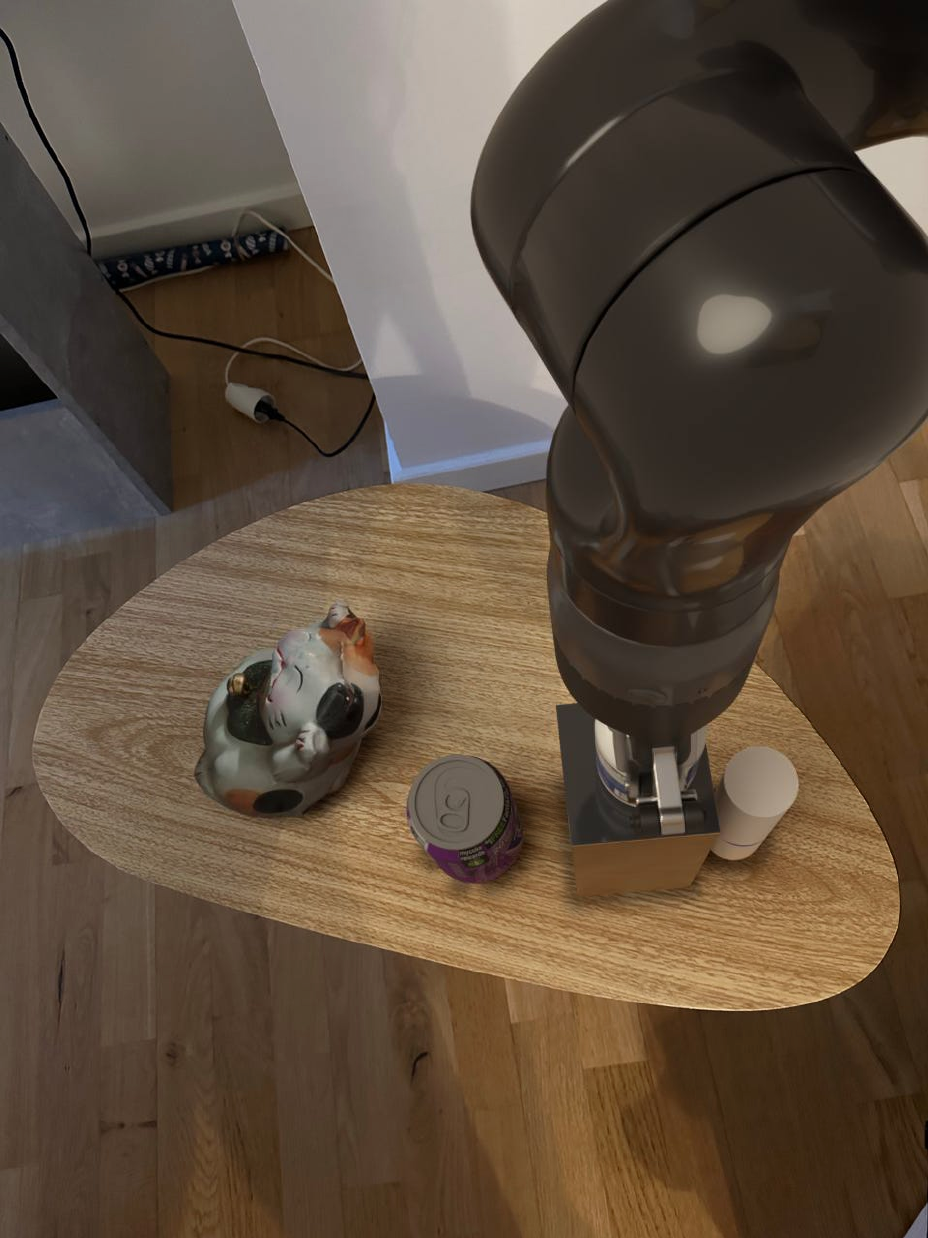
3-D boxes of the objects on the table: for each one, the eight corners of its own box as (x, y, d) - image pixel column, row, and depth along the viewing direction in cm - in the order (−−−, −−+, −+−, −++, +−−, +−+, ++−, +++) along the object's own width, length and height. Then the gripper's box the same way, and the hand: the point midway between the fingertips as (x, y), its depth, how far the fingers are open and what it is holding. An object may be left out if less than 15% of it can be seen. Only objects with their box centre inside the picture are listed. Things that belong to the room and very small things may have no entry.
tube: (728, 788, 76) (756, 731, 62) (774, 829, 75) (813, 780, 61) (689, 830, 75) (708, 782, 62) (735, 872, 74) (766, 832, 60)
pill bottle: (657, 695, 58) (666, 632, 49) (716, 775, 56) (737, 723, 47) (576, 748, 57) (571, 693, 48) (633, 830, 55) (638, 788, 46)
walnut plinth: (673, 777, 77) (696, 692, 59) (690, 887, 74) (719, 834, 56) (566, 787, 78) (555, 707, 59) (577, 897, 75) (570, 847, 56)
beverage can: (515, 892, 75) (500, 865, 64) (420, 876, 76) (390, 847, 65) (531, 797, 78) (519, 755, 67) (439, 782, 79) (412, 739, 68)
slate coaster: (696, 692, 59) (697, 690, 58) (719, 834, 56) (720, 832, 55) (555, 707, 59) (555, 704, 59) (570, 847, 56) (570, 846, 56)
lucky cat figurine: (233, 643, 85) (265, 543, 75) (370, 691, 87) (421, 600, 77) (170, 803, 76) (196, 715, 66) (325, 853, 78) (375, 775, 68)
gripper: (808, 793, 33) (742, 875, 48) (732, 411, 38) (695, 594, 54) (571, 815, 34) (581, 889, 49) (530, 437, 39) (551, 610, 55)
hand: (641, 734), depth 51 cm, fingers closed on pill bottle, 5 cm apart
